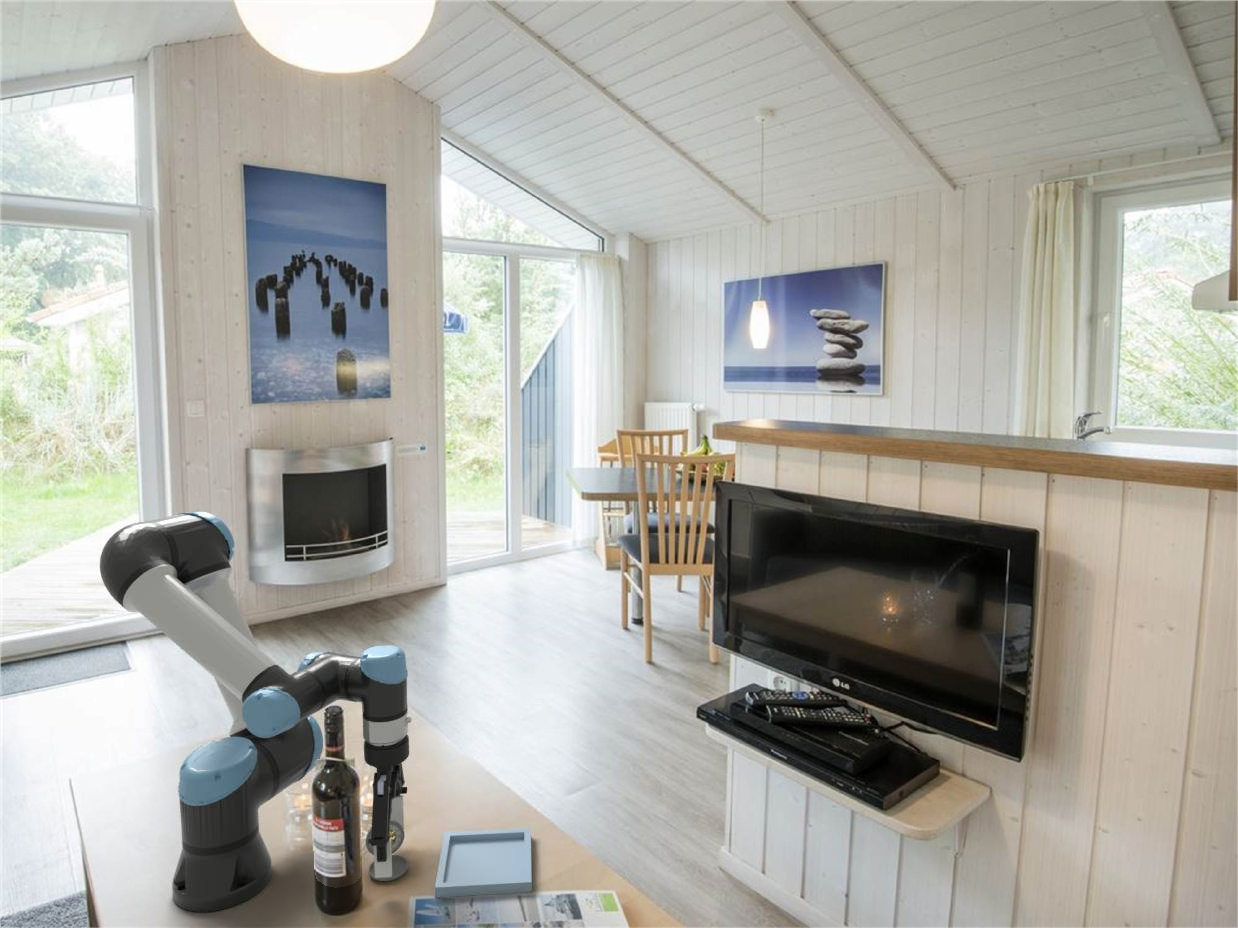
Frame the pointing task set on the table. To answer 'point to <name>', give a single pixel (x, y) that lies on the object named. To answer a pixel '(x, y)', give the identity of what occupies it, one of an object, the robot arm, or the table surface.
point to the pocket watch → (397, 861)
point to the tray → (484, 863)
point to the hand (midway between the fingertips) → (390, 852)
